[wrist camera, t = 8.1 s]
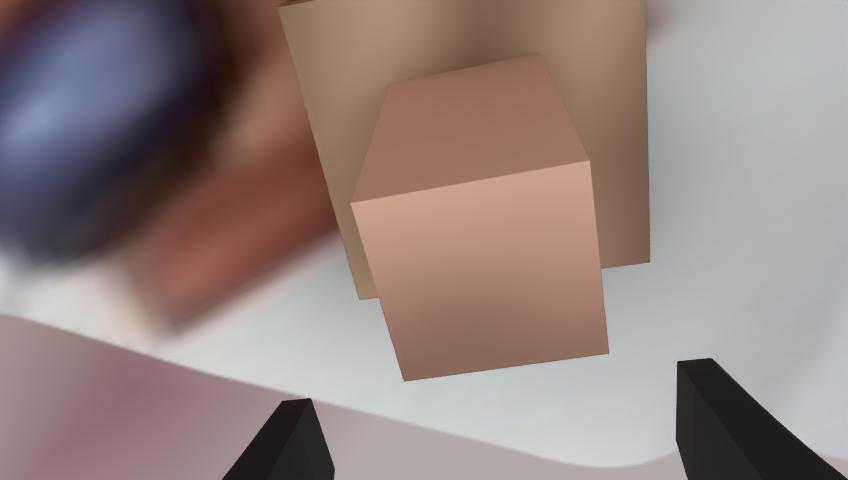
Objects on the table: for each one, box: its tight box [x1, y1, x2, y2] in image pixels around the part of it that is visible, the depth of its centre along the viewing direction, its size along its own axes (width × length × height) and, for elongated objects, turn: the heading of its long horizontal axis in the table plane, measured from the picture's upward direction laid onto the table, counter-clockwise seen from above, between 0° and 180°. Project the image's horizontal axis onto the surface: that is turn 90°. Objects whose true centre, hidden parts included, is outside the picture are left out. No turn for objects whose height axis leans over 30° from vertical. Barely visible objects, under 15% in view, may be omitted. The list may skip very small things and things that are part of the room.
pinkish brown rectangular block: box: [351, 53, 609, 382], centre depth 16 cm, size 4×4×8 cm
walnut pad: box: [278, 0, 650, 300], centre depth 20 cm, size 10×10×1 cm
